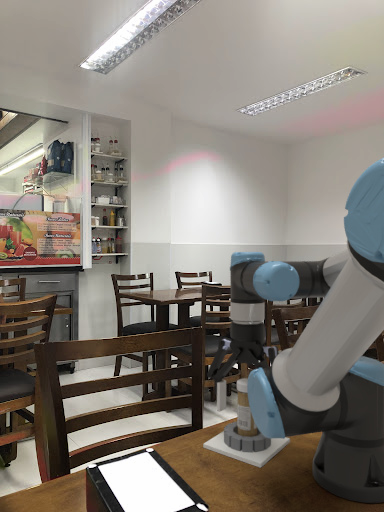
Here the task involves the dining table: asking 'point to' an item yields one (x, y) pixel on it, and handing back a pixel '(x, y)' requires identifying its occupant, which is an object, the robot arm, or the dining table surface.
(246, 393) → the sprinkles bottle
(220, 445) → the socket board
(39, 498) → the dining table surface
